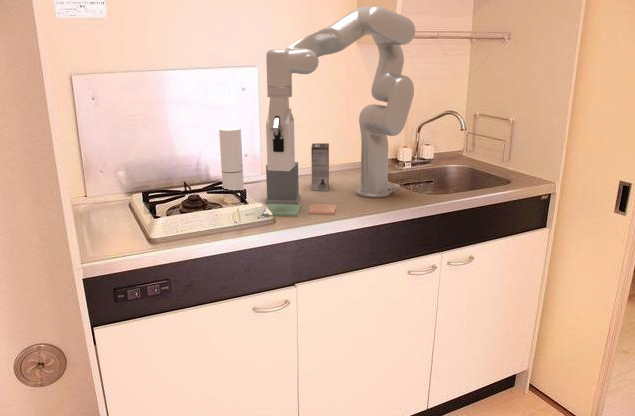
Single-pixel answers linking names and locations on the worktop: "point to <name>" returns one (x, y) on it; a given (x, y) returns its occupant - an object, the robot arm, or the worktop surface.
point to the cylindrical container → (231, 159)
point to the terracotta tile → (323, 209)
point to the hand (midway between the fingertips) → (280, 148)
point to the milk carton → (286, 158)
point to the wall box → (283, 186)
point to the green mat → (284, 209)
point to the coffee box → (320, 166)
